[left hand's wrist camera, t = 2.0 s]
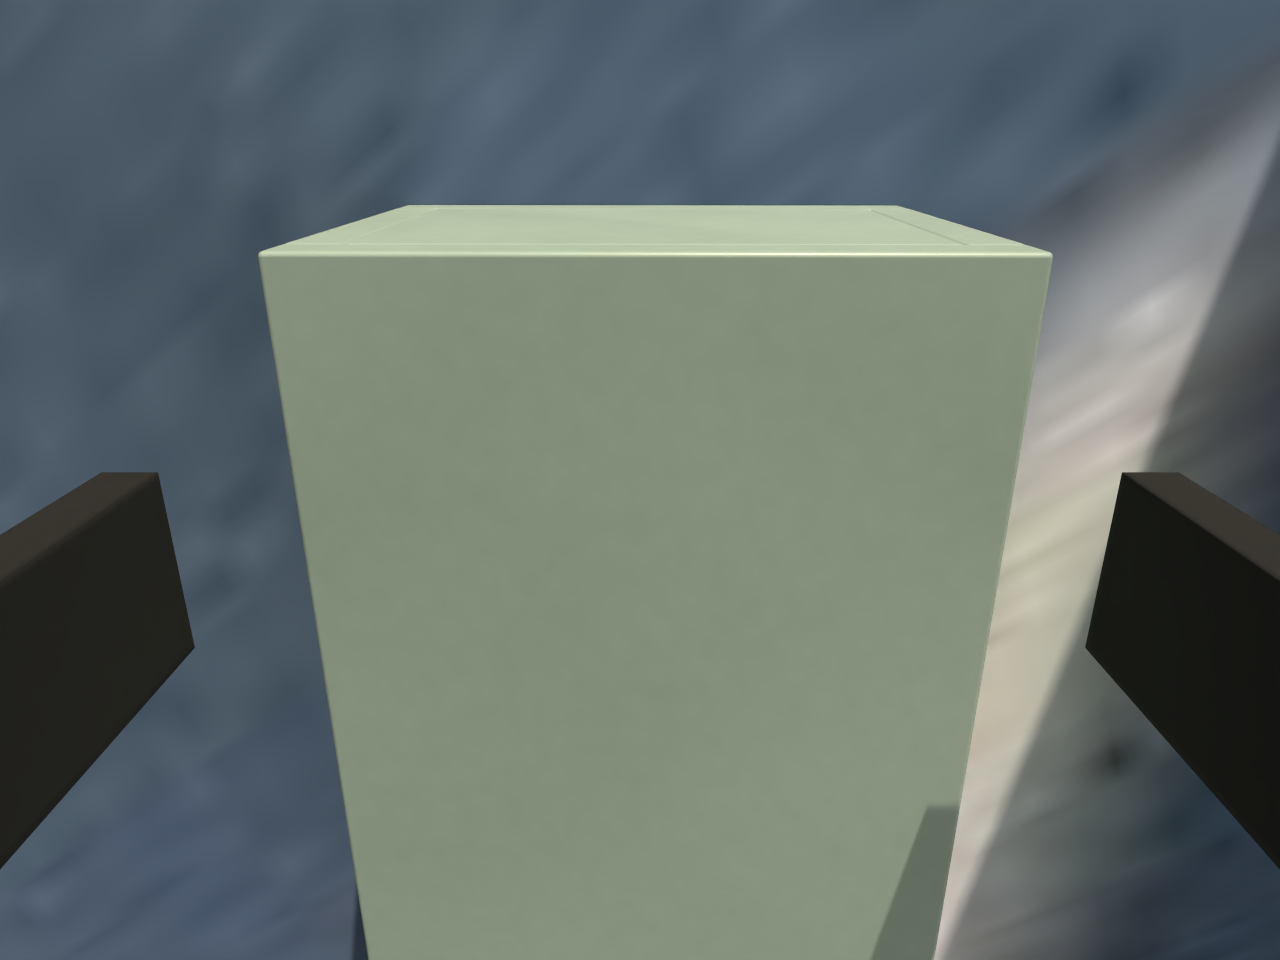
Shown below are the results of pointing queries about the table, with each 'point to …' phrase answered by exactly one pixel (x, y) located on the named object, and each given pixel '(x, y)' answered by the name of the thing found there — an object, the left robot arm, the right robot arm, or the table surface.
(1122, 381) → the table surface
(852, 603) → the cabinet
